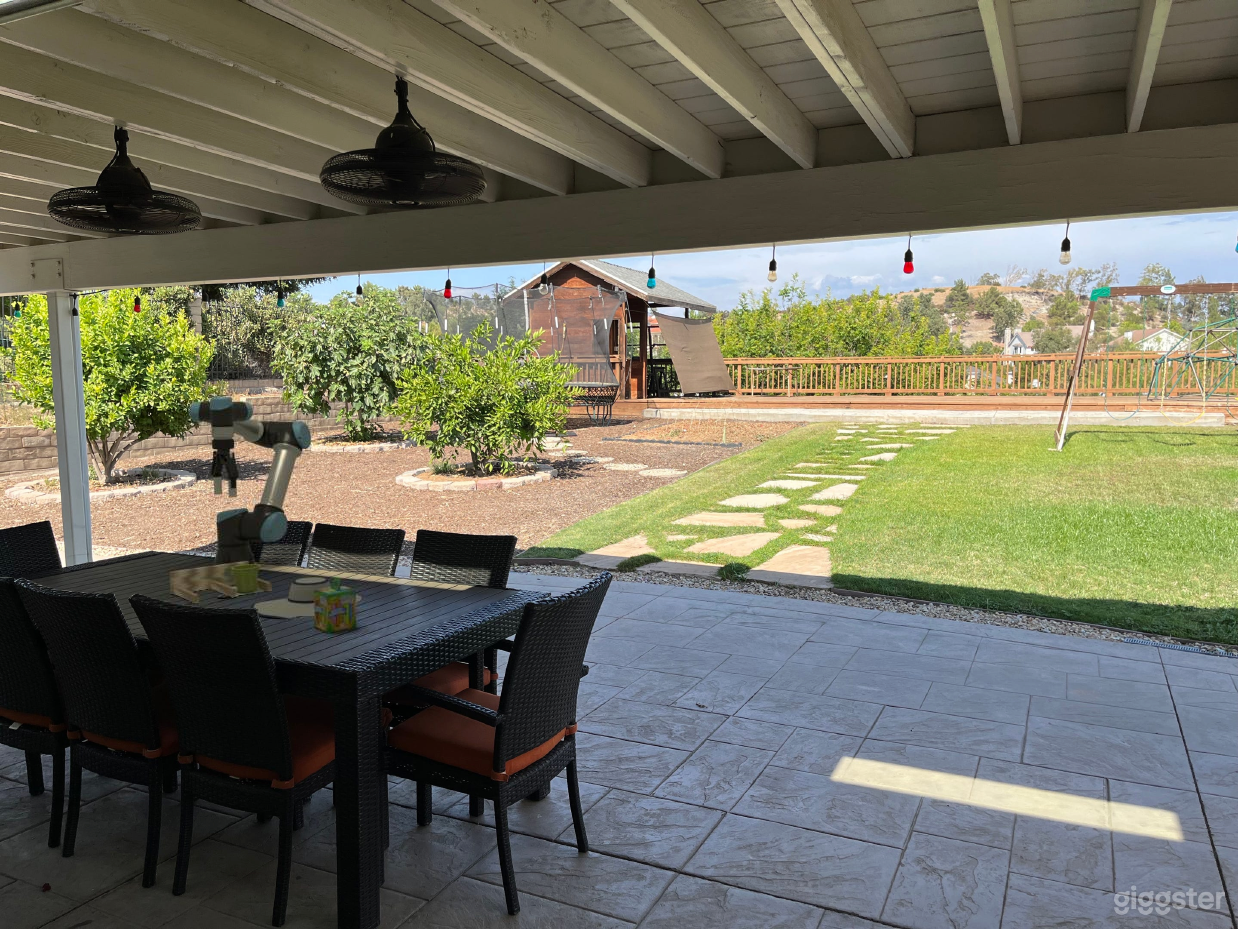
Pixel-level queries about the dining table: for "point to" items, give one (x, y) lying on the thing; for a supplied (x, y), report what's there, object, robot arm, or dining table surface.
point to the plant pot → (246, 577)
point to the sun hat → (295, 600)
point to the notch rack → (210, 581)
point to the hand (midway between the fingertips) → (225, 495)
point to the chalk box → (335, 607)
